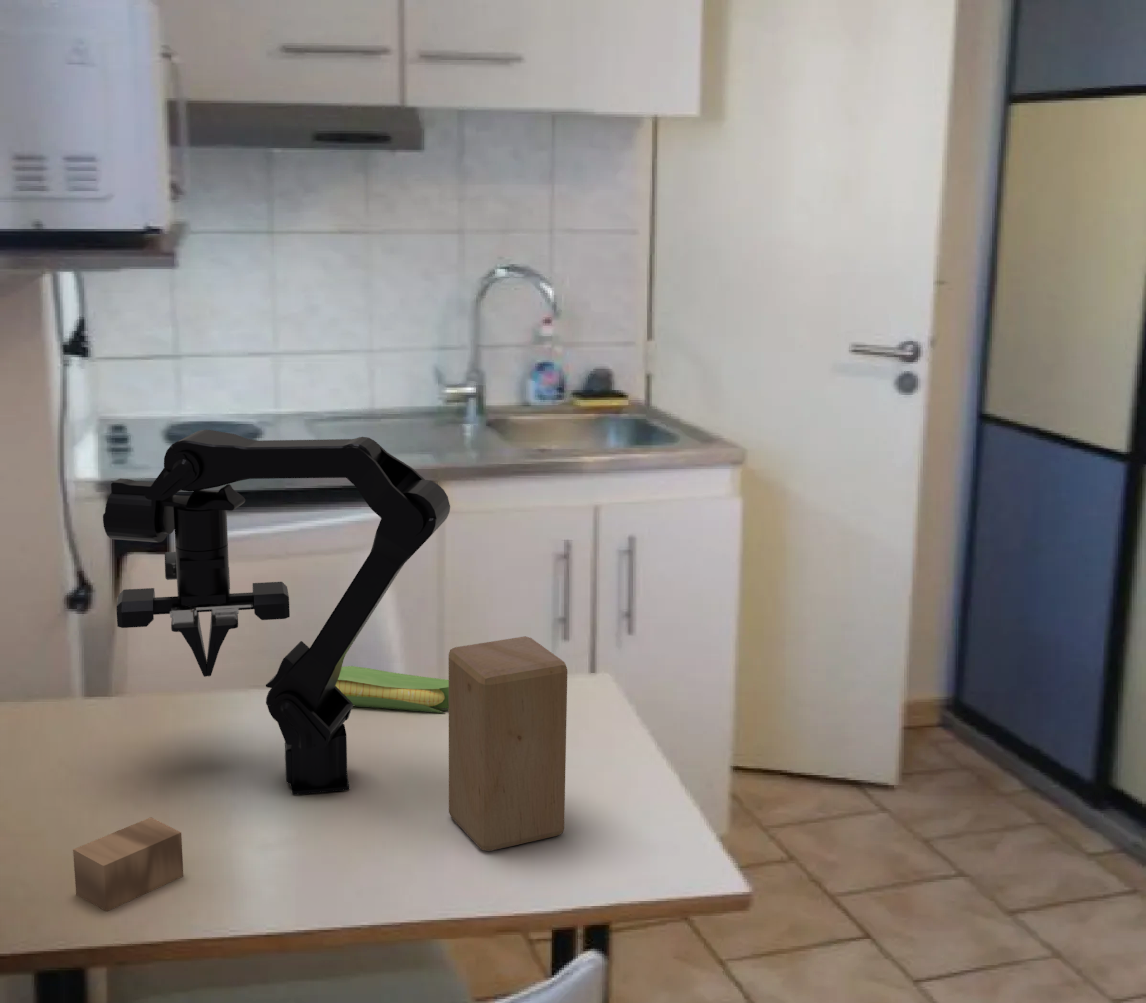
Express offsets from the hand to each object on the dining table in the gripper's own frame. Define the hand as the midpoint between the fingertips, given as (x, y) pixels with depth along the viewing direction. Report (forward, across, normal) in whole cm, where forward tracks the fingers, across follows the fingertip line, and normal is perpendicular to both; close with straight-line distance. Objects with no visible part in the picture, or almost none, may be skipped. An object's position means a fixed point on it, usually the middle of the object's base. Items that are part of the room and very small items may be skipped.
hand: (207, 675), depth 169 cm
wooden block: (+12, -31, +20) cm, 39 cm away
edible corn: (+12, -23, -16) cm, 31 cm away
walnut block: (+10, +4, +22) cm, 25 cm away
